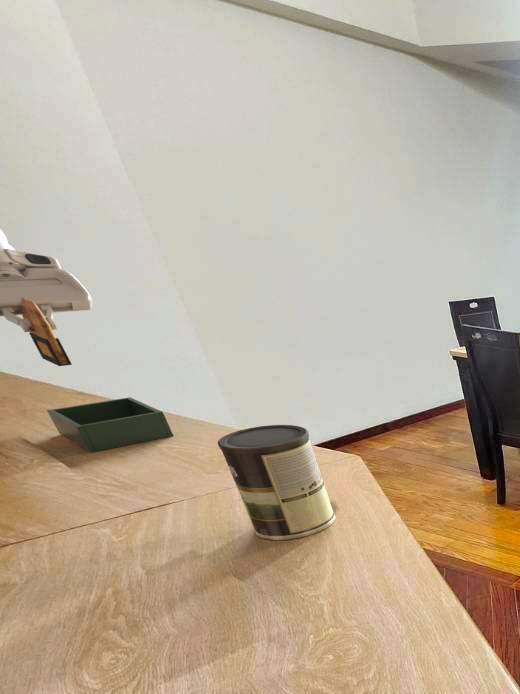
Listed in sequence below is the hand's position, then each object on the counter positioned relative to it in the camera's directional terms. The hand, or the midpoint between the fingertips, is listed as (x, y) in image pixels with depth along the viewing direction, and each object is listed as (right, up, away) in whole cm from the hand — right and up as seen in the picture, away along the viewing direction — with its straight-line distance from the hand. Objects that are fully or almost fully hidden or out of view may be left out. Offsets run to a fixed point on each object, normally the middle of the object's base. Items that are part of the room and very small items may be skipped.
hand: (40, 328), depth 117 cm
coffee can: (+71, -41, -27) cm, 86 cm away
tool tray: (+13, -21, +2) cm, 25 cm away
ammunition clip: (-1, -6, +4) cm, 7 cm away
